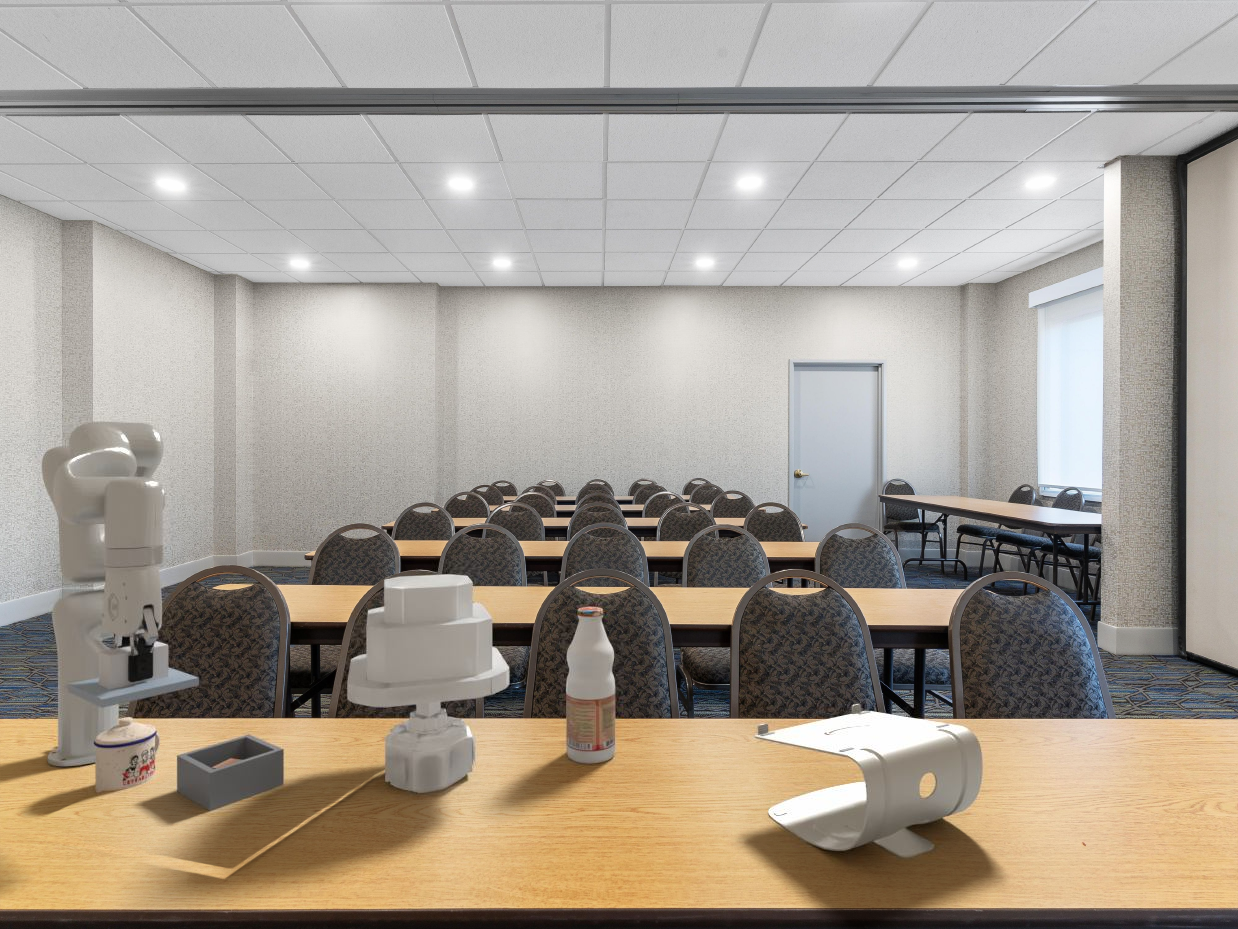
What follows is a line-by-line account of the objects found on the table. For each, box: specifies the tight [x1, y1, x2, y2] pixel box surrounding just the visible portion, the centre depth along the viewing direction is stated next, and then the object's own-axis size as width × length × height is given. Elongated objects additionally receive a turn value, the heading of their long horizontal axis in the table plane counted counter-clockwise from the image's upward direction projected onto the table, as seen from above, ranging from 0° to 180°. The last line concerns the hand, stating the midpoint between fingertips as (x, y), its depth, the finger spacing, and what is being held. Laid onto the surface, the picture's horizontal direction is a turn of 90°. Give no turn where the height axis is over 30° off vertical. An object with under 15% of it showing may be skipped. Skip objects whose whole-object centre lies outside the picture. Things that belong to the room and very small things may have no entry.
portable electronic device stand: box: [754, 703, 984, 859], centre depth 112 cm, size 26×24×16 cm
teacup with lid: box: [94, 716, 161, 794], centre depth 128 cm, size 12×9×12 cm
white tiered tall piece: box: [346, 573, 510, 794], centre depth 129 cm, size 27×27×35 cm
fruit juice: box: [565, 606, 616, 764], centre depth 139 cm, size 9×9×28 cm
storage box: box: [176, 734, 285, 812], centre depth 123 cm, size 12×12×7 cm
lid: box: [68, 641, 200, 708], centre depth 112 cm, size 13×13×6 cm
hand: (134, 676), depth 111 cm, fingers closed on lid, 4 cm apart
